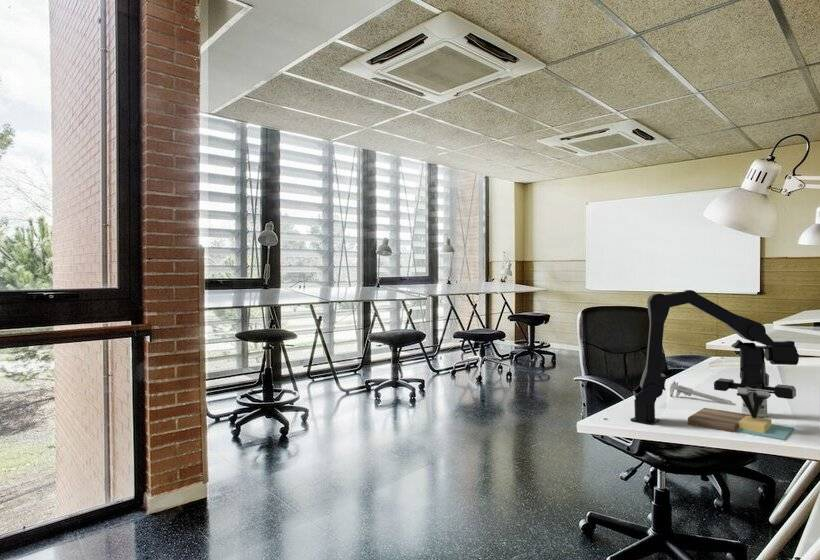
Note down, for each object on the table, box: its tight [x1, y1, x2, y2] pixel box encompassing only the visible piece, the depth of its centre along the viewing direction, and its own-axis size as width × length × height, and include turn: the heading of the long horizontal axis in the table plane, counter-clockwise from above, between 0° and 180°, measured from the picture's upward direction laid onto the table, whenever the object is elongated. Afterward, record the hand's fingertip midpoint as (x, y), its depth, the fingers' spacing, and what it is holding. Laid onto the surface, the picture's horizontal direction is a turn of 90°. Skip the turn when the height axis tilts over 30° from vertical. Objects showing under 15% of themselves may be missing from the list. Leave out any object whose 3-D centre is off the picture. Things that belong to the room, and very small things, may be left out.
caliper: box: [669, 380, 736, 406], centre depth 171 cm, size 20×1×6 cm, turn 46°
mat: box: [737, 423, 795, 441], centre depth 135 cm, size 14×10×1 cm
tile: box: [738, 416, 773, 433], centre depth 137 cm, size 9×6×2 cm, turn 132°
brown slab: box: [687, 407, 749, 433], centre depth 144 cm, size 16×12×2 cm
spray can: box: [739, 362, 768, 418], centre depth 151 cm, size 7×7×20 cm
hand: (754, 417), depth 137 cm, fingers closed
